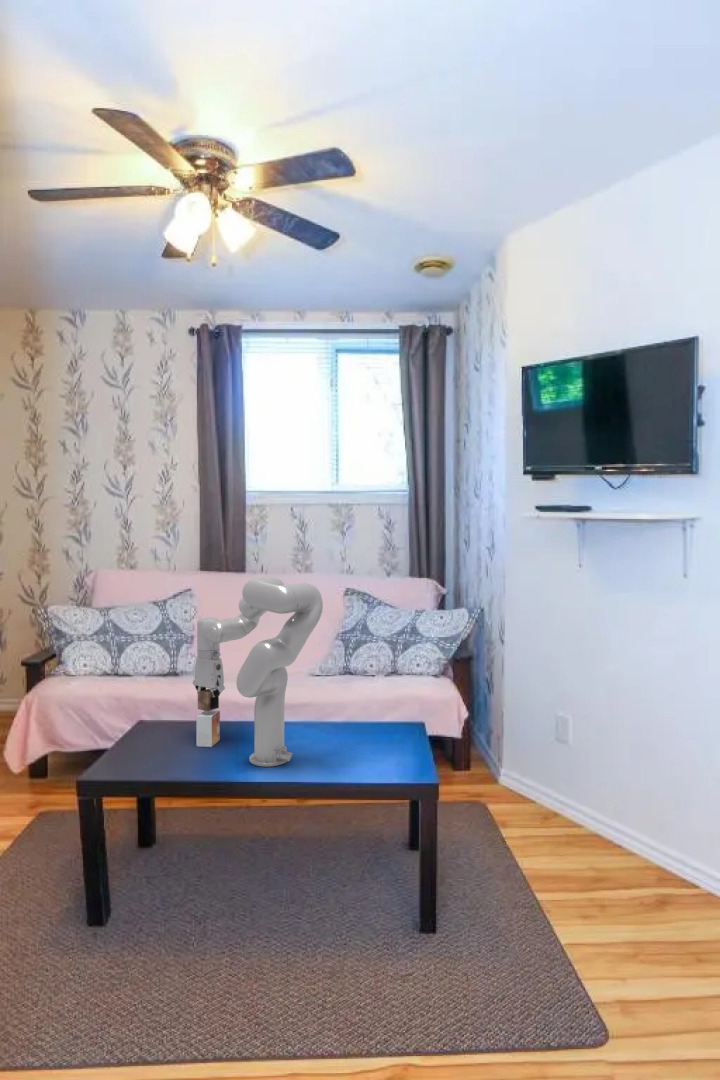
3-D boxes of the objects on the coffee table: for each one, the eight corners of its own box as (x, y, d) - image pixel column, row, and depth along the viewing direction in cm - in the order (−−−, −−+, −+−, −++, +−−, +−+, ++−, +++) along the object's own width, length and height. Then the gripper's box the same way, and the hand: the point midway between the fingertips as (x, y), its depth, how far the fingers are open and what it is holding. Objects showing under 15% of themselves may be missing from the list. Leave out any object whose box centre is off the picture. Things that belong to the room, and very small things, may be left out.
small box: (211, 747, 226) (211, 716, 226) (195, 746, 227) (196, 715, 227) (220, 740, 234) (220, 710, 234) (205, 739, 235) (205, 709, 235)
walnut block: (218, 708, 231) (218, 690, 231) (207, 711, 227) (207, 693, 227) (208, 705, 234) (208, 688, 233) (197, 709, 230) (197, 691, 229)
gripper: (234, 655, 228) (234, 708, 229) (199, 649, 238) (199, 700, 238) (217, 658, 222) (217, 713, 222) (183, 652, 231) (183, 705, 232)
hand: (208, 706), depth 230 cm, fingers closed on walnut block, 5 cm apart
